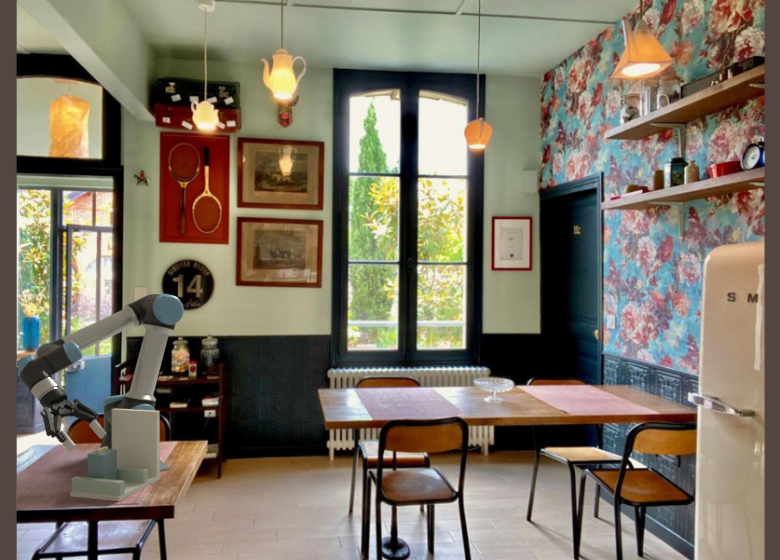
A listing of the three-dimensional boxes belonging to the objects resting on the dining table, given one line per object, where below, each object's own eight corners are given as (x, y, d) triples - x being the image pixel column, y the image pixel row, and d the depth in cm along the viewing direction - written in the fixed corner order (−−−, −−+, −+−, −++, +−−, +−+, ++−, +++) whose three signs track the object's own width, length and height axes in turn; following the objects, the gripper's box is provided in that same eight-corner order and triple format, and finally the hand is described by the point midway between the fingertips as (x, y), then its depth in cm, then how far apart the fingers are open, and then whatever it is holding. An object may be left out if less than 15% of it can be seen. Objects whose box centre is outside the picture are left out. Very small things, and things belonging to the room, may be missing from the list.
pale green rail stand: (115, 475, 194) (115, 408, 194) (160, 478, 190) (159, 410, 190) (70, 496, 175) (70, 422, 175) (119, 501, 171) (118, 425, 171)
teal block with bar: (101, 481, 184) (101, 444, 184) (116, 482, 182) (116, 445, 182) (87, 487, 178) (87, 450, 178) (103, 489, 177) (103, 451, 177)
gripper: (72, 394, 197) (109, 438, 194) (10, 410, 173) (50, 462, 169) (85, 380, 196) (121, 424, 193) (24, 394, 172) (65, 445, 168)
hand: (88, 442), depth 181 cm, fingers open, 13 cm apart
